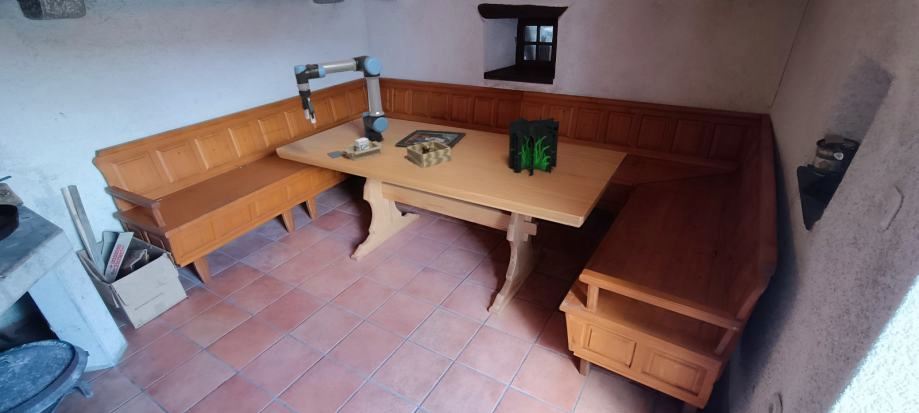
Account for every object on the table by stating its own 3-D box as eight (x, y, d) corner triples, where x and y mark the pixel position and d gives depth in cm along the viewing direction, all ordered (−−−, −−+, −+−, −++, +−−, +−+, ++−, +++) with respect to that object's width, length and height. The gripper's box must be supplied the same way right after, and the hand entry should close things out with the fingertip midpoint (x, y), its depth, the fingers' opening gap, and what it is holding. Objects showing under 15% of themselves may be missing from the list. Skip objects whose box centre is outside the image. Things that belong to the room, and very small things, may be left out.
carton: (373, 147, 324) (372, 139, 321) (387, 154, 307) (386, 146, 304) (340, 154, 310) (339, 147, 308) (352, 163, 294) (351, 155, 291)
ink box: (360, 157, 304) (358, 141, 299) (356, 155, 307) (354, 140, 302) (370, 153, 310) (368, 138, 305) (366, 152, 313) (364, 137, 308)
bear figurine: (441, 162, 289) (440, 145, 283) (419, 164, 287) (417, 147, 281) (438, 155, 301) (437, 139, 295) (417, 157, 299) (416, 141, 294)
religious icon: (450, 151, 308) (450, 147, 306) (395, 147, 322) (394, 143, 320) (467, 135, 342) (467, 131, 340) (416, 132, 356) (416, 129, 354)
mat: (338, 151, 318) (338, 150, 318) (344, 155, 309) (344, 154, 309) (327, 154, 313) (326, 153, 313) (332, 158, 304) (332, 157, 304)
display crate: (435, 152, 308) (434, 140, 303) (452, 160, 291) (451, 147, 287) (406, 159, 296) (405, 147, 292) (423, 168, 280) (421, 155, 276)
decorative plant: (564, 171, 265) (567, 124, 251) (520, 178, 258) (521, 130, 244) (543, 156, 290) (545, 113, 276) (502, 162, 283) (502, 118, 269)
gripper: (293, 87, 290) (300, 118, 299) (304, 93, 271) (310, 125, 281) (304, 86, 293) (310, 116, 303) (315, 91, 275) (321, 123, 284)
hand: (310, 120), depth 292 cm, fingers open, 13 cm apart
